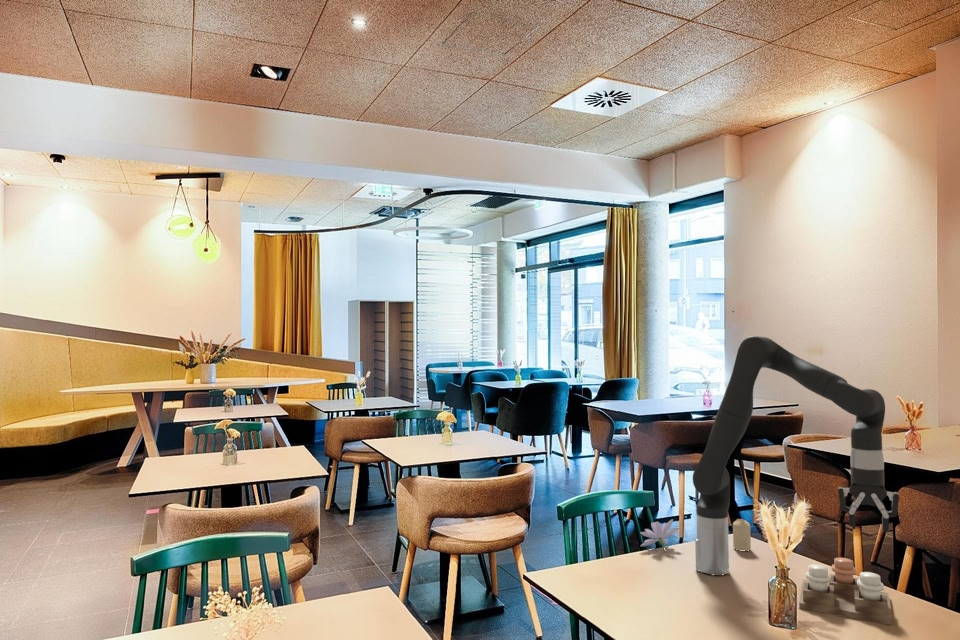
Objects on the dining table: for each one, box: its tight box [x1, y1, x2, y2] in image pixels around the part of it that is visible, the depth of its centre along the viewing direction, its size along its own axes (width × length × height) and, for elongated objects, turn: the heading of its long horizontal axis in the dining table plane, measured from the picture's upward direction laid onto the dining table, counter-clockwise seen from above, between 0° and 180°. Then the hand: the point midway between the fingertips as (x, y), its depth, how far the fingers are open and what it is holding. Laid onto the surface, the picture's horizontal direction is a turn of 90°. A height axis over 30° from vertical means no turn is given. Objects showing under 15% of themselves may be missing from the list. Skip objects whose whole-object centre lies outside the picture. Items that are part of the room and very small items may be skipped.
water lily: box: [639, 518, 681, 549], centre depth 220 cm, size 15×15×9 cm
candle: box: [732, 518, 752, 552], centre depth 219 cm, size 6×6×10 cm
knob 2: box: [857, 571, 885, 601], centre depth 168 cm, size 6×6×6 cm
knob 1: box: [805, 564, 831, 592], centre depth 173 cm, size 6×6×6 cm
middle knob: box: [831, 557, 857, 584], centre depth 179 cm, size 6×6×6 cm
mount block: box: [798, 573, 894, 626], centre depth 174 cm, size 21×19×4 cm
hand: (868, 529), depth 168 cm, fingers open, 6 cm apart
